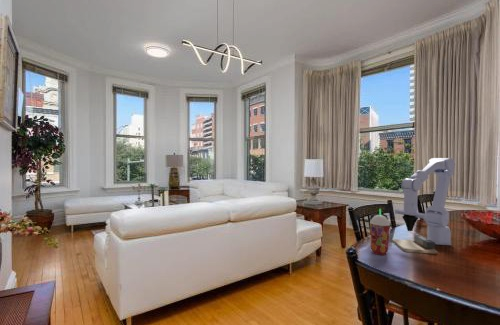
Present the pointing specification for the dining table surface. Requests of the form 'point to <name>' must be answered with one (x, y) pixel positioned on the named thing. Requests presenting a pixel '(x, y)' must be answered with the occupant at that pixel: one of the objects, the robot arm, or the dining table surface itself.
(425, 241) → the leg
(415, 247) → the board
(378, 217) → the smoothie
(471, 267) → the dining table surface
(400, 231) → the dining table surface
